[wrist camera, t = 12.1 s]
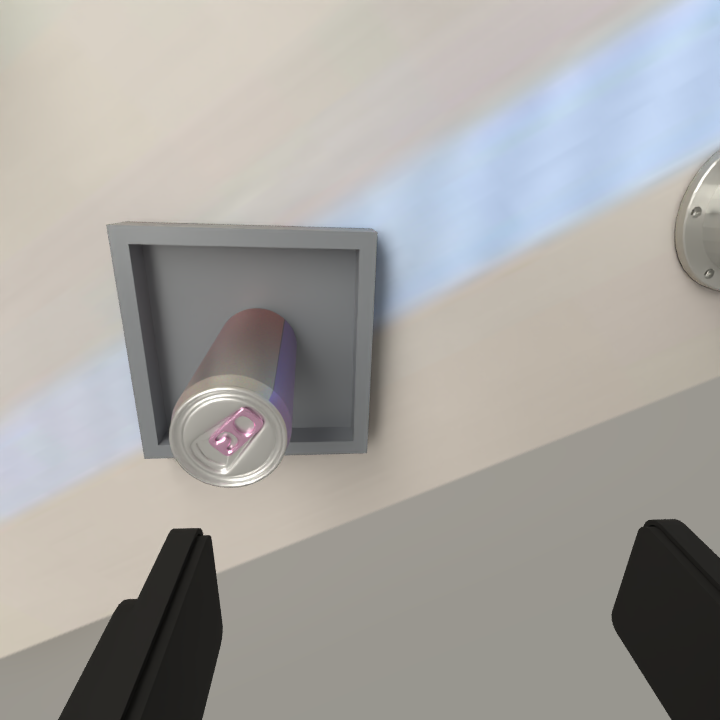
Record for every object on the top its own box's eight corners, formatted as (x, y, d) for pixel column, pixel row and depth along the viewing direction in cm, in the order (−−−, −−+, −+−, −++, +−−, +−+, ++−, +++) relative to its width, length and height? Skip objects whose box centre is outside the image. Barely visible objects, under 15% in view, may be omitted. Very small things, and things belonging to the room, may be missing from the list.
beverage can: (312, 342, 36) (316, 438, 22) (261, 390, 37) (234, 511, 23) (257, 290, 34) (222, 359, 20) (204, 342, 35) (137, 442, 21)
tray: (371, 228, 34) (377, 232, 31) (363, 433, 40) (367, 453, 37) (125, 221, 32) (106, 224, 29) (157, 437, 38) (144, 458, 35)
